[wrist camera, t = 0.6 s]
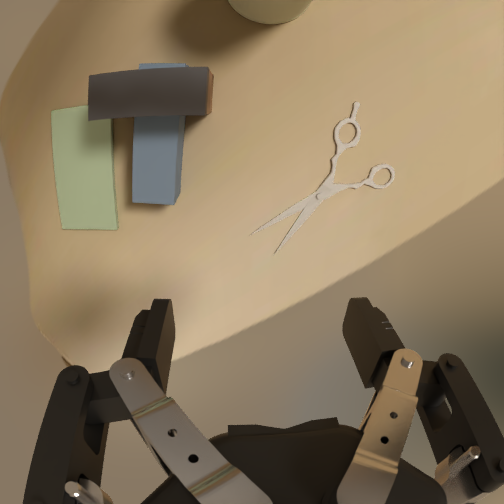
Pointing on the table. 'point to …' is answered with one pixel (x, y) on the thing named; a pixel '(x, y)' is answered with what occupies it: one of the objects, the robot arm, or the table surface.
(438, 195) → the table surface
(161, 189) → the blue slab
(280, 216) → the scissors
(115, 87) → the block arch
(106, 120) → the pad
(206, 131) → the table surface
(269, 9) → the can
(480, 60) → the table surface
